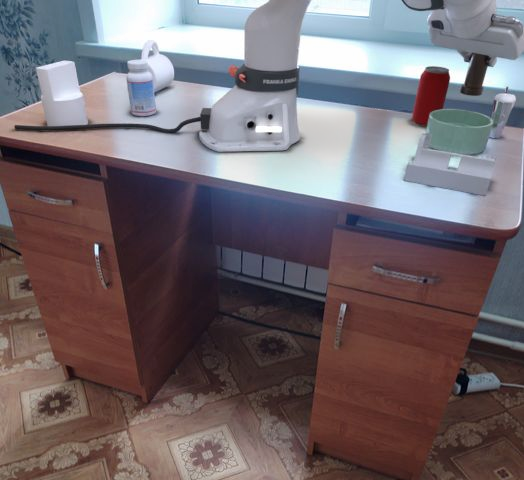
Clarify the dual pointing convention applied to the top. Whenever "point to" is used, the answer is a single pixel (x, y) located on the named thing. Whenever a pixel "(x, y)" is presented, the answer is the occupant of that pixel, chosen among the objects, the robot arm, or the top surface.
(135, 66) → the pill bottle
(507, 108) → the milkshake
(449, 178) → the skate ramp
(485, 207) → the top surface
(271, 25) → the robot arm
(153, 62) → the mug
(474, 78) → the pestle
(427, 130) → the bowl
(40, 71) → the white stepped block
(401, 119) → the top surface
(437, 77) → the beverage can
